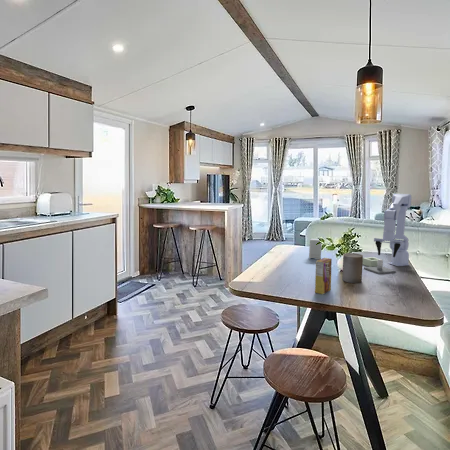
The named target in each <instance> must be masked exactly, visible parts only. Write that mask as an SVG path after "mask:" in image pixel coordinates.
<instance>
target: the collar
mask: <svg viewBox="0 0 450 450" xmlns="http://www.w3.org/2000/svg"><path fill="white" fill-rule="evenodd" d="M378 259H379V258H378V257H375V256H370V257H363V264H362V266H366V267H373V266H377V262H378Z"/></svg>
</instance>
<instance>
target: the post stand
mask: <svg viewBox="0 0 450 450" xmlns="http://www.w3.org/2000/svg"><path fill="white" fill-rule="evenodd" d="M383 262H384V260H383V259H380V258H378V262H377V266H373V267H369V266H366V267H365V266H364V267H363V270H366V271H369V272H372V273H374V274H377V275H382V274H383V275H384V274H395V273H397V271H396V270H395V269H391V268H388V267H385V266H383V264H384V263H383Z"/></svg>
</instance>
